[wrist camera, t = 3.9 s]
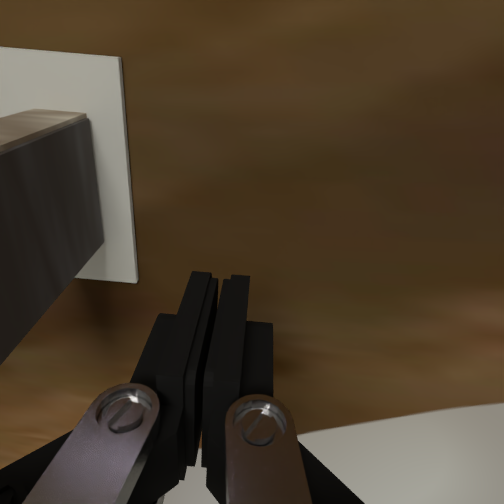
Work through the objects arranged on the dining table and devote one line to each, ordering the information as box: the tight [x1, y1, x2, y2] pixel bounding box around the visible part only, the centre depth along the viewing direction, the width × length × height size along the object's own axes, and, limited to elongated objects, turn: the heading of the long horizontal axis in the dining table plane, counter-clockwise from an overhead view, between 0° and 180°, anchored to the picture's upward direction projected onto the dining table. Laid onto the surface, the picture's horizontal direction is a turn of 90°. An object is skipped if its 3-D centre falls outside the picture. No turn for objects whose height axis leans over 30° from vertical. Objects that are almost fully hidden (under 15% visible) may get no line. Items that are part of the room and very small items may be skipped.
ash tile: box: [0, 108, 104, 365], centre depth 15 cm, size 3×7×12 cm, turn 176°
